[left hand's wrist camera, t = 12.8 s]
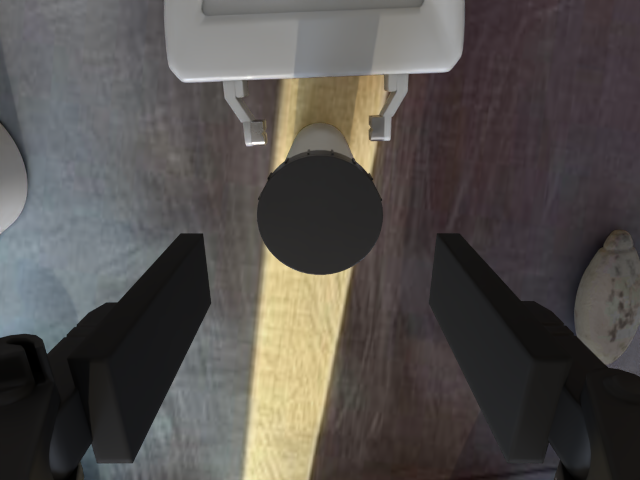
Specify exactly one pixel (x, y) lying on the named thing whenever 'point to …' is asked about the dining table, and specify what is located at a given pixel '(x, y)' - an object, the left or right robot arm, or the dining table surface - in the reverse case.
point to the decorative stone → (609, 298)
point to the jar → (320, 140)
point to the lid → (320, 212)
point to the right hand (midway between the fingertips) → (317, 142)
